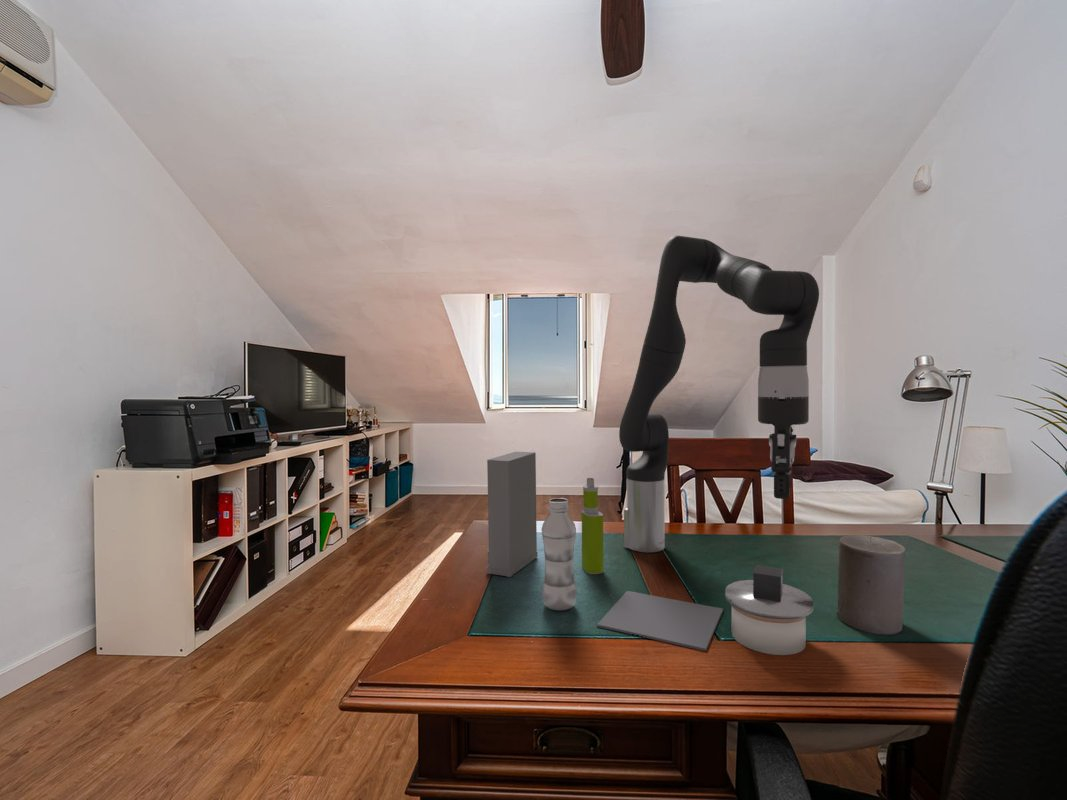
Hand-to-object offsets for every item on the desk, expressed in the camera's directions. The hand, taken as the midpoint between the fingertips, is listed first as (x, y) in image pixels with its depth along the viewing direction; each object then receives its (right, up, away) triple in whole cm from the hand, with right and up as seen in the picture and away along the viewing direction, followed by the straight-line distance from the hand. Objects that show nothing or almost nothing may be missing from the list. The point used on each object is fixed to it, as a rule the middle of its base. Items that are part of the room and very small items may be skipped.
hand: (782, 493), depth 88 cm
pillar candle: (+17, -23, +4) cm, 29 cm away
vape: (-28, -22, +31) cm, 47 cm away
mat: (-18, -23, +6) cm, 30 cm away
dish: (-3, -23, -1) cm, 24 cm away
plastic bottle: (-36, -23, +11) cm, 44 cm away
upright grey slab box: (-46, -22, +33) cm, 61 cm away
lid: (-3, -17, -1) cm, 18 cm away
